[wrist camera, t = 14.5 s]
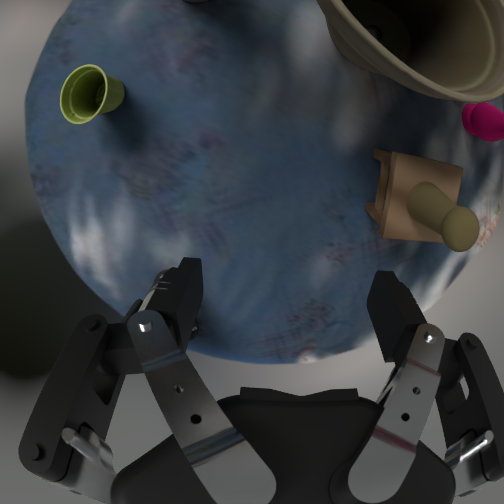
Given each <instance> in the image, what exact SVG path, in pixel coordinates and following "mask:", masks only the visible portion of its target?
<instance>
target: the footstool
mask: <svg viewBox="0 0 504 504" xmlns="http://www.w3.org/2000/svg"><path fill="white" fill-rule="evenodd" d="M373 158H375V159H377V160H379V161H381V166H380V174H379V181H378V188H377V195H376V201H375V202H367V205H366V211H367V212H368V213H369V215H370V216H371V217H372V218H373V219H374V220H375V221H376V222H377V223H378V225H379V226H380V230H379V234H380V236H381V237H382V238H386V239H401V240H414V241H427V242H440V243H445V242H444V241H443V239H442V236H441V235H440V234H438V233H436V232H435V231H433V230H431V229H429V228H428V227H426V226H424V225H422V224H421V223H419V222H417V221H415V220H413V219H412V218H411V216H410V215H409V213H408V210H407V200H408V196H409V194H410V192H411V190H412V189H413V188H414V186H415V185H417V184H419V183H420V182H431V183H433V184H434V185H435V186H437V187H438V188H439V189H440V190H441V191H442V192H443V193H444V194H446V195H447V196H448V197H449V198H450V199H451V200H452V201H453V202H454V203H455V204H456V203H457V198H458V194H459V189H460V183H461V178H462V172H463V168H461V167H458V166H455V165H451V164H448V163H444V162H440V161H436V160H432V159H427V158H423V157H419V156H414V155H409V154H404V153H399V152H394V151H392V153H391V152H388V151H385V150H382V149H376V148H374V152H373ZM389 166H390V172H389ZM388 173H389V180H388ZM387 180H388V186H387ZM386 187H387V193H386ZM385 193H386V199H385ZM384 199H385V204H384ZM383 205H384V210H383Z"/></svg>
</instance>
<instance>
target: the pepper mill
mask: <svg viewBox="0 0 504 504" xmlns="http://www.w3.org/2000/svg"><path fill="white" fill-rule="evenodd" d="M462 120H463V124H464V127H465V129H466V130H467V131H468V132H469V133H470V134H471V135H474V136H479V137H480V138H481V139H482V140H484V141H489V142H494V141H498V140H501V139H504V113H503V112H501V111H500V110H498V109H497V108H496V107H495V106H493V105H491V104H489V103H485V102H484V103H478V104H467V105H466V106H465V107H464V109H463V112H462Z"/></svg>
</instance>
